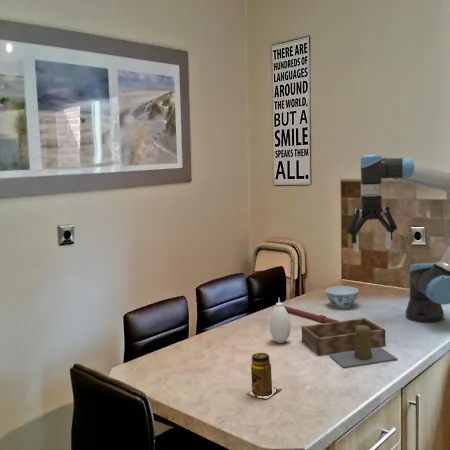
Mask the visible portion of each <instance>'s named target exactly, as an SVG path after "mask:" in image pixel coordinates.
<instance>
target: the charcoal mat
mask: <svg viewBox="0 0 450 450" xmlns="http://www.w3.org/2000/svg"><path fill="white" fill-rule="evenodd" d="M354 353H355V350H354V351H347V352H340V353H333V354H328V356H329V358H330V359H331V360H333V361H334V362H335V363H336V364H338V365H339V366H340V368H342V369H348V368H354V367H360V366H361V367H363V366H369V365H374V364H380V363H382V364H383V363H387V362H394V361H398V360H399V359H398V357H396V356H395V355H393V354H392V353H390V352H388V351H387V350H385V349H384V348H383V347H375V348H371V353H372V358H371V359H369V360H359V359H356V358H355V357H354Z"/></svg>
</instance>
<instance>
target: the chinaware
mask: <svg viewBox="0 0 450 450" xmlns="http://www.w3.org/2000/svg"><path fill="white" fill-rule="evenodd" d="M359 291H360V290H359V288H357V287H354V286H348V285H347V286H346V285H337V286H336V285H335V286H330V287H328V288H326V289H325V294H326V297H327V299H328V301H329V302H330V303H331V304H333V305H334V307H335V308H336V309H349V308H350V307H351V305H353V304H354V302H356V300H357V299H358V296H359V293H360V292H359Z"/></svg>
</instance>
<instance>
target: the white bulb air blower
mask: <svg viewBox="0 0 450 450" xmlns="http://www.w3.org/2000/svg"><path fill="white" fill-rule="evenodd" d="M277 300H278V301H277V302H276V303H275V306H274V308H273V309H272V312H271V314H270V318H269V332H270V334H271V337H272V339H273V340H274V341H275V342H276V343H279V344H283V343H285V342H286V341H287V340H288V339H289V337H290V334H291V328H292V326H291V320H290V316H289V312H287V311H286V309H285V307H284V306H285V305H284V303H282V302H281V300H280V298H278V299H277Z"/></svg>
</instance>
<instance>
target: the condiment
mask: <svg viewBox="0 0 450 450" xmlns="http://www.w3.org/2000/svg"><path fill="white" fill-rule="evenodd" d="M250 371H251V372H250V373H251V388H252V389H251V391H252V392H253V394H254V395H255V396H262V397H263V396H269V395H271V394H272V387H273V384H272V383H273V381H272V379H273V378H272V377H273V376H272V364H271V361H270V355H269V354H268V353H265V352H255V353H253V354H252V356H251V365H250ZM275 388H276V387H274V389H275ZM277 388H278V387H277ZM281 390H282V388H278V389H276V392H277V393H279V392H280V391H281ZM275 394H276V393H274V395H275Z"/></svg>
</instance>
